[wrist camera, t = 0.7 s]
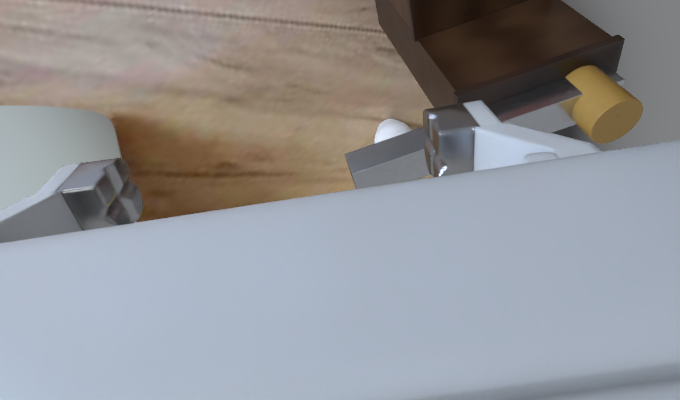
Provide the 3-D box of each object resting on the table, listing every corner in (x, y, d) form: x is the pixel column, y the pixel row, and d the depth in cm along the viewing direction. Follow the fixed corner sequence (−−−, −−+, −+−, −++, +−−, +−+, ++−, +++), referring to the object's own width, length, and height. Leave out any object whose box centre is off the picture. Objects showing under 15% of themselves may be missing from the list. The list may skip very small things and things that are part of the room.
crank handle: (605, 57, 36) (649, 91, 32) (596, 98, 38) (635, 133, 35) (342, 149, 36) (358, 192, 33) (353, 182, 39) (369, 225, 36)
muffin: (382, 105, 66) (397, 133, 61) (414, 117, 69) (430, 145, 64) (361, 137, 69) (373, 166, 65) (392, 147, 72) (406, 176, 68)
